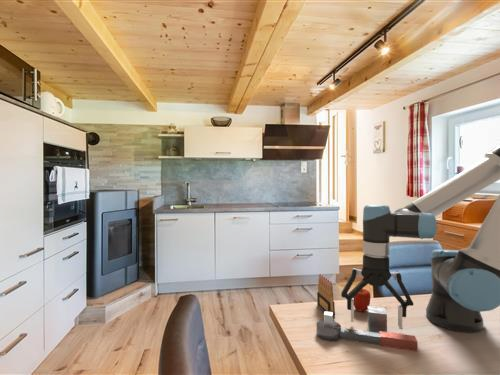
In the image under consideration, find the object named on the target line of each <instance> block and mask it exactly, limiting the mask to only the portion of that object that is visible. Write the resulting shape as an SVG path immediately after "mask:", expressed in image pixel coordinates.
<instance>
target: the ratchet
mask: <svg viewBox="0 0 500 375" xmlns="http://www.w3.org/2000/svg"><path fill="white" fill-rule="evenodd" d="M316 336H317V337H318V338H319V339H320V340H322V341H325V342H330V343H331V342H338V341H340V340H342V341H350V342H355V343H363V344H371V345H375V346H380V347H386V348H391V349H392V348H393V349H401V350H405V351H406V350H407V351H413V352H419V351H418V349H419V348H418V344H419V343H418V340H417V338H416V336H415V335H412V334H404V333H397V332H392V331H391V332H389V331H387V332H383V331H379V333H377V332H369V330H362V329H355V328H354V329H353V328H347V327H342V326H341V324H340V323H339V322H338V321H335V320H334V317H333V312H326V311H325V312H324V311H323V319H321V320H318V321H316Z"/></svg>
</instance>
